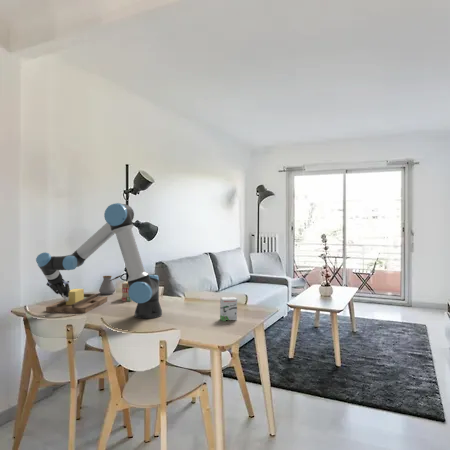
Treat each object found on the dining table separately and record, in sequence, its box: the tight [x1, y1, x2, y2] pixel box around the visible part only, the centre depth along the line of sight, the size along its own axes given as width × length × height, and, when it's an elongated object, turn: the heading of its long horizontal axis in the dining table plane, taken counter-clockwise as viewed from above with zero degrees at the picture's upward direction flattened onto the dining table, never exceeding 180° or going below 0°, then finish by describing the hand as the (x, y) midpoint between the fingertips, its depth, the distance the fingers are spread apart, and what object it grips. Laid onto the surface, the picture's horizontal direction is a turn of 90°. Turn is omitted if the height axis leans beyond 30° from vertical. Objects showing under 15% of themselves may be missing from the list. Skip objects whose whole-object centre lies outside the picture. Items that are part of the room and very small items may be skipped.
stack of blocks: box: [121, 281, 133, 302], centre depth 265 cm, size 21×6×12 cm, turn 171°
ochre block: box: [66, 288, 85, 305], centre depth 235 cm, size 6×10×8 cm, turn 172°
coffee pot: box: [98, 274, 124, 296], centre depth 278 cm, size 21×12×15 cm, turn 58°
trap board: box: [45, 293, 108, 314], centre depth 239 cm, size 24×32×5 cm
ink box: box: [219, 296, 238, 322], centre depth 208 cm, size 9×5×12 cm, turn 103°
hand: (67, 299), depth 229 cm, fingers closed
